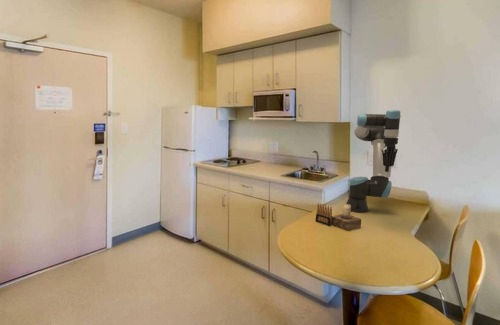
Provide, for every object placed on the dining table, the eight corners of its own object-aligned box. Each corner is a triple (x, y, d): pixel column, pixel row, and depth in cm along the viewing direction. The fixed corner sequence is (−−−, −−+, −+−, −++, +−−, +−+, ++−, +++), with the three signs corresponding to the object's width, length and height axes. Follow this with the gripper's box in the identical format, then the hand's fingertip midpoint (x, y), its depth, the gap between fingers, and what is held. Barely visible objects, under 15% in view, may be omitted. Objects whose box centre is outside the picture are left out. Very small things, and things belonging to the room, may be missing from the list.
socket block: (330, 224, 171) (331, 216, 170) (344, 221, 177) (344, 213, 177) (347, 230, 161) (347, 222, 160) (360, 227, 167) (361, 218, 167)
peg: (346, 226, 166) (347, 206, 164) (340, 223, 170) (342, 204, 168) (350, 224, 168) (352, 205, 167) (345, 222, 172) (346, 203, 170)
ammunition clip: (315, 221, 176) (316, 202, 174) (317, 220, 177) (318, 202, 175) (330, 226, 168) (331, 206, 166) (332, 225, 169) (333, 206, 167)
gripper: (390, 137, 159) (386, 179, 162) (403, 137, 166) (399, 177, 169) (378, 136, 165) (375, 176, 168) (391, 136, 172) (387, 175, 175)
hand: (387, 177), depth 169 cm, fingers closed
